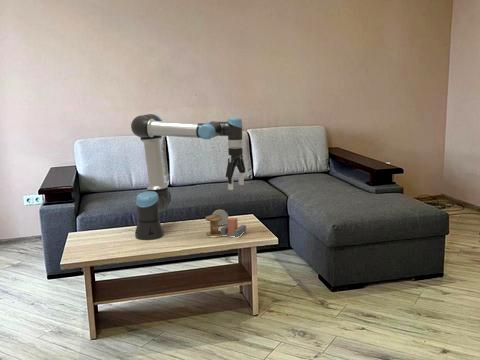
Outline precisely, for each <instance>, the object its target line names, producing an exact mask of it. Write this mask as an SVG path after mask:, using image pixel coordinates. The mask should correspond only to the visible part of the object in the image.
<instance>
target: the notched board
mask: <svg viewBox="0 0 480 360" xmlns="http://www.w3.org/2000/svg"><path fill="white" fill-rule="evenodd" d="M220 231H221V234H222V235H227V236H235V237H238V236H240V235H241V234H242V233H243V232H245V231H246V232H247V225H246V224H241V225H240V226H238V228H237V229H235V230H234V235H233V234H228V224H227V225H226V224H225V226H223V227H222V228H220ZM240 237H241V236H240Z"/></svg>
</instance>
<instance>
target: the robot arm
mask: <svg viewBox="0 0 480 360" xmlns="http://www.w3.org/2000/svg"><path fill="white" fill-rule="evenodd" d="M130 130H131V131H132V133H133V134H134V135H135V136H136V137H138V138H140V141H141V142H143V144H144V145H143V146H144V152H145V162H146V170H147V177H148V178H147V179H148V186H147V188H146V191H144V192H140V193H139V194H137V196H136V201H135V202H136V203H135V204H136V217H137V224H136V227H135V232H134V233H135V236H134V237H135V239H139V240H143V241H144V240H146V241H147V240H157V239H160V238H162V237H163V236H164V230H163V226H162V224H161V221H160V213H161V212H163V211H164V210H167V209H168V207H170V206H171V205H172V202H173V194H172V192H171V191H170V189H169V187H168V186H169V185H167V184H166V183H165V176H164V175H165V173H164V166H163V159H162V152H161V142H160V141H161V140H162V139H163V137H175V138H193V139H194V138H195V139H196V138H197V139H202V140H211V139H213V138H217V137H227V146H228V148H227V152H228V155H229V156H230V157H229V158H228V159H227V167H226V173H225V177H226V178H227V190H228V191H229V190H230V191H233V190H234V177H233V176H234V173H235V170H236V169H235V168H236V167H237V169H238V170H237V171H238V185H241V186H244V185H245V180H244V179H245V177H244V173H246V166H245V160H244V156H243V153H244V151H243V149H244V148H243V143H244V141H243V120H242V118H241V117H229V118H227V121H207V122H206V123H205V122H204V123H202V122H201V123H199V122H198V123H197V122H187V121H186V122H182V121H166V120H165V121H164V120H163V119H162V118H161V116H159V115H158V114H154V113H147V114H143V115H137V116H136V117H135V118H133V119H132V121H131V124H130Z"/></svg>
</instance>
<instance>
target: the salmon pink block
mask: <svg viewBox="0 0 480 360" xmlns="http://www.w3.org/2000/svg"><path fill="white" fill-rule="evenodd" d="M227 225H228V234H233V235H234V230H235V229H237V228H238V227H239V225H238V218H237V217H230V218H229V217H228V221H227Z"/></svg>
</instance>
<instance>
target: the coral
mask: <svg viewBox="0 0 480 360" xmlns="http://www.w3.org/2000/svg"><path fill="white" fill-rule="evenodd" d="M211 215H220V216H222V220H220V221H218V225H222V224H224V225H226V224H227V223H228V219H229V215H228V212H227V211H226V210H224V209H217V210H214V211H213V212H212V214H211ZM222 226H223V225H222Z"/></svg>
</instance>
